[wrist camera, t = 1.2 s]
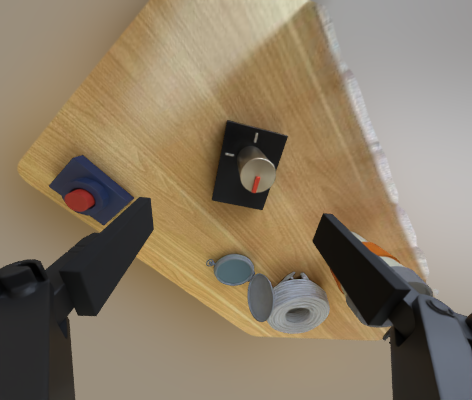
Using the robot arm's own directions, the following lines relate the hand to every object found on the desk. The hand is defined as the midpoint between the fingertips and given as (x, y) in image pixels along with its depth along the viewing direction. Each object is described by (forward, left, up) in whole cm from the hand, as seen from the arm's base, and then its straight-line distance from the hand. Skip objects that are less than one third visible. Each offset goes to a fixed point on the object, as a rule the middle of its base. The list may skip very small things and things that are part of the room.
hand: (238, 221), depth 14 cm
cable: (+35, +26, -21) cm, 48 cm away
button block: (+12, -24, -21) cm, 34 cm away
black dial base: (+1, +3, -21) cm, 21 cm away
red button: (+12, -24, -17) cm, 32 cm away
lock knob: (-1, +3, -18) cm, 18 cm away
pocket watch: (+27, +7, -21) cm, 35 cm away
